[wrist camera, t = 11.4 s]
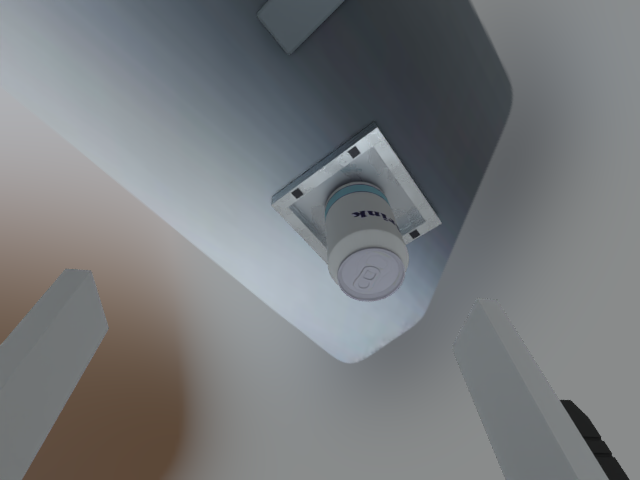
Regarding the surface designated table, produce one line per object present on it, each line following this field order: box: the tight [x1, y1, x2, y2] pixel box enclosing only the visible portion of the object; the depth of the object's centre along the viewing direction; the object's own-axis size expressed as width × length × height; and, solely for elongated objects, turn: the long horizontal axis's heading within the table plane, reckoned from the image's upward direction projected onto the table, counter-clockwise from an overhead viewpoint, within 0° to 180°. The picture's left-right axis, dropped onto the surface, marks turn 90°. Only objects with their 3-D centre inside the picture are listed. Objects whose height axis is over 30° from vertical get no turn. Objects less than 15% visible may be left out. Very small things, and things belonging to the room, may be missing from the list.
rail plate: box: [271, 122, 442, 264], centre depth 39 cm, size 13×13×2 cm
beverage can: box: [325, 182, 409, 301], centre depth 34 cm, size 7×7×12 cm
